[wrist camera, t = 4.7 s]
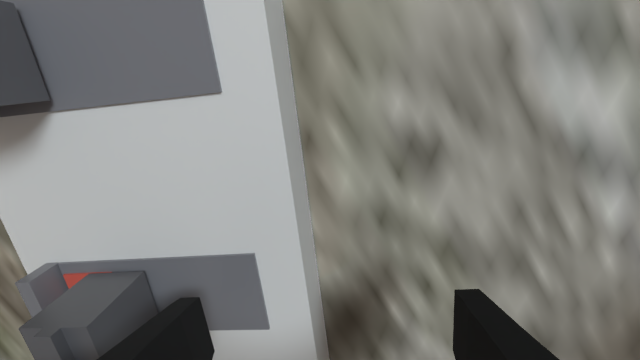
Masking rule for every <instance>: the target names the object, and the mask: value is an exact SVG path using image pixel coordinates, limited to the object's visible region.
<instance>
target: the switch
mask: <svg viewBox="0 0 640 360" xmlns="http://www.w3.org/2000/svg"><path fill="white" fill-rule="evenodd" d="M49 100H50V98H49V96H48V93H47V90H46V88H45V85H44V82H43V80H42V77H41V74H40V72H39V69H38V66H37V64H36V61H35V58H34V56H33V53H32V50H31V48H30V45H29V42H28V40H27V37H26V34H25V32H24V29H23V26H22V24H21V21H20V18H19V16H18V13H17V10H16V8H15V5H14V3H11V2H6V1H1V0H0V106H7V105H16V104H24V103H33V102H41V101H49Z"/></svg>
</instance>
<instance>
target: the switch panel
mask: <svg viewBox="0 0 640 360" xmlns="http://www.w3.org/2000/svg"><path fill="white" fill-rule="evenodd" d="M1 1H6V2H11V3H14V5H15V8H16V10H17V13H18V16H19V18H20V21H21V24H22V26H23V29H24V32H25V34H26V37H27V40H28V42H29V45H30V48H31V50H32V53H33V56H34V58H35V61H36V64H37V66H38V69H39V72H40V74H41V77H42V80H43V82H44V85H45V88H46V90H47V93H48V96H49V98H50V100H49V101H41V102H33V103H24V104H16V105H7V106H0V218H1V220H2V222H3V224H4V226H5V228H6V231H7V233H8V235H9V237H10V239H11V241H12V243H13V245H14V247H15V249H16V251H17V253H18V256H19V258H20V260H21V262H22V264H23V266H24V268H25V270H26V272H27V274H28V275H27V276H25V277H23V278H22V279H20V280H19V281H17V282H16V283H15V284H16V286H17V288H18V290H19V292H20V294H21V296H22V298H23V300H24V302H25V304H26V306H27V308H28V310H29V312H30V314H31V316H32V318H33V317H34V316H35V315H36V314H38V313H39V312H40V311H42V310H43V309H44V308H45V307H47V306H48V305H49V304H51V303H52V302H53V301H54V300H56V299H57V298H58V297H60V296H61V295H62V294H63V293H65V292H66V291H67V290H69V289H70V288H71V287H72V286H74V285H75V284H76V283H77V282H79V281H80V280H81V279H83V278H84V277H85V276H86V275H88V274H90V273H114V272H138V271H144V274H145V277H146V279H147V282H148V285H149V288H150V291H151V294H152V297H153V300H154V303H155V306H156V309H157V312H158V313H159V312H161V311H162V310H163V309H165V308H166V307H168V306H169V305H170V304H172V303H173V302H175V301H176V300H178V299H179V298H188V297H200V300H201V304H202V307H203V311H204V314H205V318H206V321H207V325H208V328H209V332H210V336H211V339H212V343H213V346H214V350H215V352H214V355H213V358H212V360H330V359H329V351H328V344H327V336H326V329H325V321H324V314H323V306H322V298H321V291H320V283H319V276H318V268H317V261H316V253H315V246H314V238H313V231H312V223H311V215H310V208H309V200H308V193H307V185H306V178H305V170H304V163H303V155H302V148H301V140H300V132H299V125H298V117H297V110H296V102H295V95H294V87H293V80H292V72H291V64H290V57H289V49H288V42H287V34H286V27H285V19H284V12H283V4H282V0H1Z"/></svg>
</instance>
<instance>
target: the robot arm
mask: <svg viewBox="0 0 640 360" xmlns="http://www.w3.org/2000/svg"><path fill="white" fill-rule="evenodd" d="M453 351H454V355H455V359H456V360H559V359H558V358H557V357H556V356H554V355H553V354H552V353H551V352H550V351H548V350H547V349H546V348H545V347H544V346H543V345H541V344H540V343H539V342H538V341H537V340H535V339H534V338H533V337H532V336H531V335H530V334H529V333H527V332H526V331H525V330H524V329H523V328H522V327H521V326H519V325H518V324H517V323H516V322H515V321H514V320H513V319H512V318H511V317H509V316H508V315H507V314H506V313H505V312H504V311H503V310H502V309H501V308H499V307H498V306H497V305H496V304H495V303H494V302H493V301H492V300H491V299H489V298H488V297H487V296H486V295H485V294H484V293H483V292H482V291H481V290H479V289H466V290H455V299H454V331H453ZM214 352H215V350H214V346H213V343H212V339H211V336H210V332H209V328H208V325H207V321H206V318H205V314H204V311H203V307H202V304H201V300H200V297H188V298H179V299H178V300H176V301H175V302H173V303H172V304H170V305H169V306H168V307H166V308H165V309H163V310H162V311H161V312H159V313H158V314H157V315H155V316H154V317H153V318H151V319H150V320H149V321H147V322H146V323H145V324H143V325H142V326H141V327H139V328H138V329H137V330H136V331H134V332H133V333H132V334H130V335H129V336H128V337H126V338H125V339H124V340H122V341H121V342H120V343H118V344H117V345H116V346H114V347H113V348H112V349H110V350H109V351H108V352H106V353H105V354H104V355H102V356H101V357H99V358H98V359H97V360H212V358H213V355H214Z"/></svg>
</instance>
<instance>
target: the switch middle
mask: <svg viewBox="0 0 640 360" xmlns="http://www.w3.org/2000/svg"><path fill="white" fill-rule="evenodd" d="M157 314H158V312H157V309H156V306H155V303H154V300H153V297H152V294H151V291H150V288H149V285H148V282H147V279H146V277H145V274H144V271H138V272H114V273H90V274H88V275H86V276H85V277H84V278H83V279H81V280H80V281H79V282H77V283H76V284H75V285H74V286H72V287H71V288H70V289H69V290H67V291H66V292H65V293H63V294H62V295H61V296H60V297H58V298H57V299H56V300H54V301H53V302H52V303H51V304H49V305H48V306H47V307H45V308H44V309H43V310H42V311H40V312H39V313H38V314H36V315H35V316H34V317H33V318H31V319H30V320H29V321H28V322H26V323H25V324H24V325H22V326H21V327H20V328H19V330H20V332H21V334H22V336H23V338H24V340H25V342H26V344H27V346H28V348H29V350H30V351H31V353H32V355H33V357H34V359H35V360H97V359H98V358H99V357H101V356H102V355H104V354H105V353H106V352H108V351H109V350H110V349H112V348H113V347H114V346H116V345H117V344H118V343H120V342H121V341H122V340H124V339H125V338H126V337H128V336H129V335H130V334H132V333H133V332H134V331H136V330H137V329H138V328H139V327H141V326H142V325H143V324H145V323H146V322H147V321H149V320H150V319H151V318H153V317H154V316H155V315H157Z"/></svg>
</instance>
